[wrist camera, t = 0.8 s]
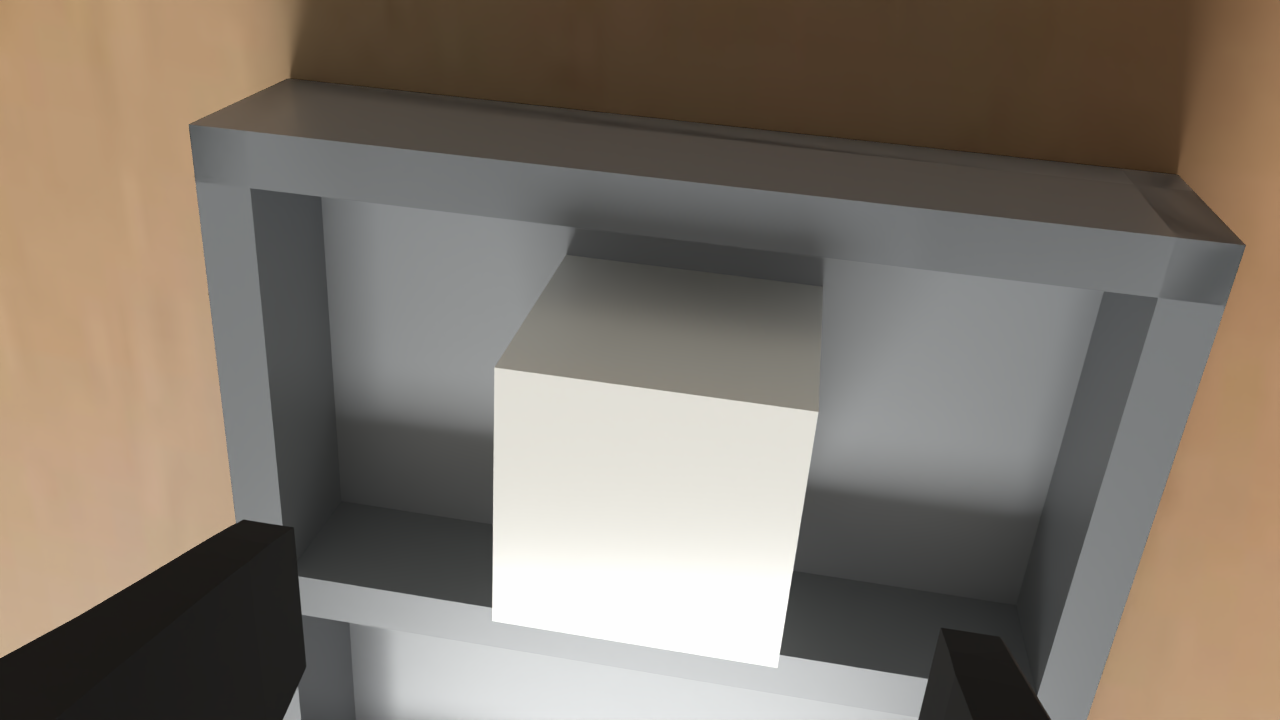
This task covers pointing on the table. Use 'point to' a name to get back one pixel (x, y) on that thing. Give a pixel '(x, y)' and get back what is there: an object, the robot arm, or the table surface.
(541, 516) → the white block
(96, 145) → the table surface
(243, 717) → the robot arm
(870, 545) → the divided tray
